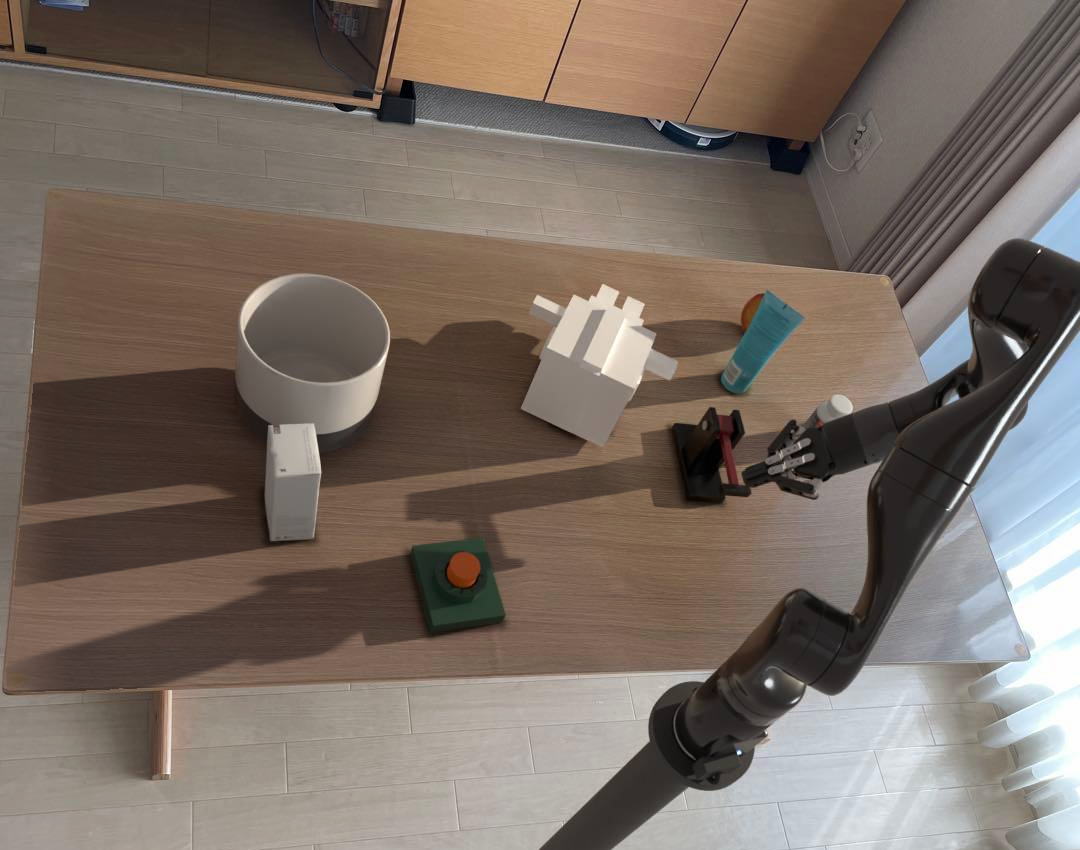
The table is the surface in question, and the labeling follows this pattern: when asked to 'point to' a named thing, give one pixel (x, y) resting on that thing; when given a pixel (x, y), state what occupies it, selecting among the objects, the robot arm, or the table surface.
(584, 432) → the white voxel figure
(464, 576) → the button
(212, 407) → the table surface
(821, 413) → the pill bottle
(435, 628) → the button box
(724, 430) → the red and black bar
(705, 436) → the black bracket
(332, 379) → the planter
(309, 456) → the cosmetic box
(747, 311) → the fruit
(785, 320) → the tube
